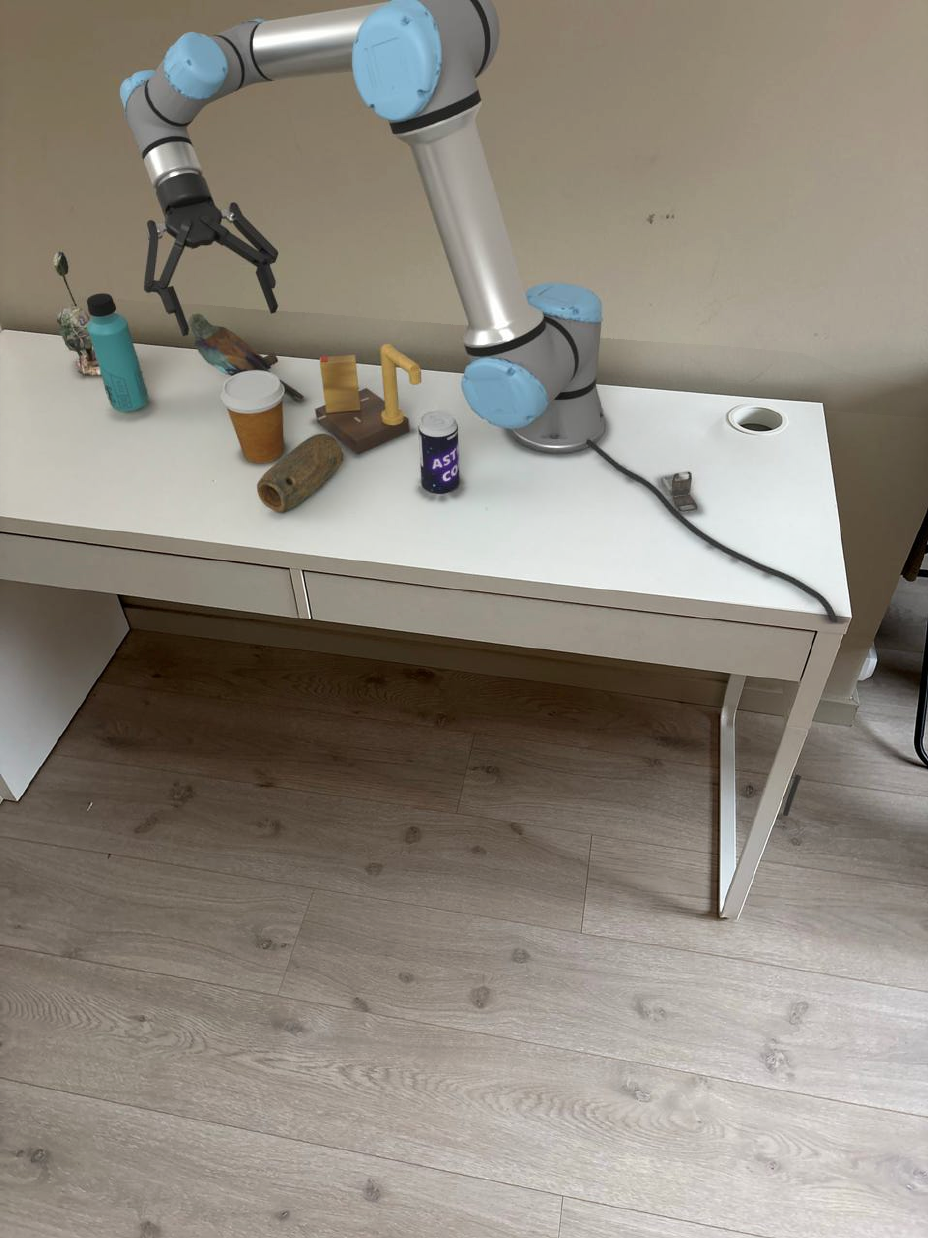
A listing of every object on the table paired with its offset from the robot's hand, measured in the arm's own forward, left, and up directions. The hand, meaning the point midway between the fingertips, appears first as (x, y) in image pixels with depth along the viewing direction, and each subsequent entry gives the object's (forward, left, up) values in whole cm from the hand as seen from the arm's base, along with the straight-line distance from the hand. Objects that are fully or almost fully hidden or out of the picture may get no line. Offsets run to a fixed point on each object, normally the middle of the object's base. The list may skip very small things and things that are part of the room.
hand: (231, 321), depth 150 cm
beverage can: (-30, -15, -20) cm, 39 cm away
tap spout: (-17, -18, -17) cm, 30 cm away
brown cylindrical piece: (-18, +1, -20) cm, 27 cm away
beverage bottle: (+20, +12, -20) cm, 31 cm away
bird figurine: (+13, -7, -20) cm, 25 cm away
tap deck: (-8, -14, -20) cm, 26 cm away
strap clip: (-54, -41, -20) cm, 71 cm away
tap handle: (-6, -14, -17) cm, 23 cm away
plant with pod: (+37, +11, -20) cm, 43 cm away
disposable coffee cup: (-5, +1, -20) cm, 21 cm away
